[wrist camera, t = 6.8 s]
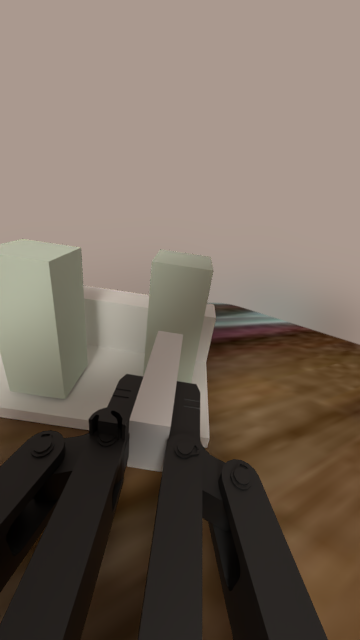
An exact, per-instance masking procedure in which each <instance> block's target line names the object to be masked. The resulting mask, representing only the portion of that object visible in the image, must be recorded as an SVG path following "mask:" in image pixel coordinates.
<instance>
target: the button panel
mask: <svg viewBox="0 0 360 640" xmlns="http://www.w3.org/2000/svg"><path fill="white" fill-rule="evenodd" d="M83 290H84V308H85V326H86V343H87V361H88V365H87V367H86V368H85V370H84V371H83V373H82V375H81V376H80V378H79V379H78V381H77V382H76V384H75V385H74V387H73V388H72V390H71V391H70V393H69V394H68V396H67V397H66V399H59V398H52V397H46V396H39V395H32V394H25V393H19V392H12V391H10V389H9V385H8V381H7V377H6V373H5V369H4V365H3V362H2V358H1V354H0V417H3V418H10V419H16V420H23V421H30V422H37V423H43V424H50V425H57V426H64V427H70V428H77V429H84V430H89V420H88V419H89V418H90V416H91V415H92V414H93V413H94V412H96V411H97V410H99V409H103V408H106V407H107V406H108V404H109V402H110V399H111V397H112V396H113V393H114V391H115V389H116V386H117V384H118V382H119V380H120V379H121V378H122V377H123V376H125V375H126V374H131V375H137V376H143V370H144V357H145V344H146V331H147V318H148V305H149V295H146V294H138V293H132V292H125V291H118V290H112V289H105V288H98V287H91V286H84V285H83ZM215 320H216V314H215V307H214V305H213V304H207V305H206V310H205V315H204V321H203V326H202V331H201V336H200V341H199V346H198V351H197V356H196V361H195V366H194V371H193V376H192V381H191V383H192V384H197V386H198V388H199V390H200V440H201V443H202V446H203V447H205V448H207V446H208V442H209V439H210V437H209V415H208V393H207V371H206V361H207V356H208V352H209V347H210V343H211V338H212V334H213V329H214V325H215Z"/></svg>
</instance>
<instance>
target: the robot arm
mask: <svg viewBox="0 0 360 640" xmlns="http://www.w3.org/2000/svg"><path fill="white" fill-rule="evenodd" d="M182 339H183V334H177V333H170V332H164V331H158V334H157V337H156V340H155V343H154V346H153V349H152V352H151V355H150V358H149V361H148V364H147V367H146V370H145V374H144V376H137V375H131V374H126V375H125V376H123V377H122V378H121V379H120V380H119V382H118V384H117V386H116V389H115V391H114V393H113V396H112V397H111V399H110V402H109V404H108V406H107V407H106V408H103V409H99V410H97V411H96V412H94V413H93V414H92V415H91V416H90V418H89V419H88V420H89V433H87V434H85V435H82V436H77V437H70V438H63V436H62V435H61V434H60V433H58V432H56V431H51V430H50V431H43V432H40V433H38V434H36V435H34V436H32V437H31V438H30V439H28V440H27V441H26V442H25V443H24V444H23V445H22V446H21V447H20V448H19V449H18V450H17V451H16V452H15V453H14V454H13V455H12V456H11V457H10V458H9V459H8V460H7V461H6V462H5V463H4V464H3V465H2V466H0V592H1V590H2V589H3V588H4V586H5V585H6V583H7V582H8V580H9V579H10V577H11V576H12V575H13V573H14V572H15V570H16V569H17V567H18V566H19V564H20V563H21V562H22V560H23V559H24V557H25V556H26V554H27V553H28V551H29V550H30V549H31V547H32V546H33V544H34V543H35V541H36V540H37V538H38V537H39V536H40V534H41V533H42V531H43V530H44V528H45V527H46V528H45V530H44V532H43V535H42V537H41V539H40V541H39V543H38V545H37V547H36V549H35V552H34V554H33V556H32V558H31V560H30V562H29V564H28V566H27V569H26V571H25V573H24V575H23V577H22V579H21V581H20V583H19V586H18V588H17V590H16V592H15V594H14V596H13V598H12V600H11V603H10V605H9V607H8V609H7V611H6V613H5V615H4V617H3V620H2V622H1V624H0V640H80V639H81V635H82V631H83V628H84V624H85V620H86V617H87V613H88V609H89V606H90V602H91V598H92V595H93V591H94V588H95V584H96V580H97V577H98V573H99V569H100V566H101V562H102V558H103V555H104V551H105V547H106V544H107V540H108V536H109V533H110V529H111V525H112V522H113V518H114V514H115V511H116V507H117V503H118V500H119V496H120V492H121V489H122V485H123V480H124V471H125V468H126V464H127V467H134V468H140V469H146V470H152V471H158V472H162V477H161V484H160V490H159V496H158V504H157V511H156V517H155V524H154V531H153V538H152V545H151V551H150V558H149V565H148V572H147V579H146V585H145V592H144V599H143V606H142V613H141V619H140V626H139V633H138V640H202V518H204V519H205V520H207V521H208V523H209V528H210V532H211V537H212V542H213V546H214V551H215V556H216V560H217V565H218V570H219V574H220V579H221V584H222V588H223V593H224V598H225V602H226V607H227V612H228V616H229V621H230V626H231V630H232V635H233V640H328V639H327V637H326V634H325V632H324V630H323V627H322V625H321V622H320V620H319V618H318V615H317V613H316V611H315V608H314V606H313V603H312V601H311V599H310V596H309V594H308V592H307V589H306V587H305V585H304V582H303V580H302V577H301V575H300V573H299V570H298V568H297V566H296V563H295V561H294V559H293V556H292V554H291V551H290V549H289V547H288V544H287V542H286V540H285V537H284V535H283V533H282V530H281V528H280V525H279V523H278V521H277V518H276V516H275V514H274V511H273V509H272V506H271V504H270V502H269V499H268V497H267V495H266V492H265V490H264V488H263V485H262V483H261V480H260V478H259V476H258V474H257V473H256V471H255V469H254V468H252V467H251V466H250V465H249V464H248V463H246V462H244V461H242V460H236V459H233V460H230V461H228V462H227V463H225V462H223V461H221V460H219V459H217V458H215V457H213V456H212V455H210V454H209V453H208V452H207V451H206V450H205V449H204V447H203V446H202V443H201V440H200V390H199V388H198V386H197V384H192V383H186V382H180V381H177V376H178V369H179V362H180V354H181V347H182Z"/></svg>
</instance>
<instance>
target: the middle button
mask: <svg viewBox="0 0 360 640" xmlns="http://www.w3.org/2000/svg"><path fill="white" fill-rule="evenodd" d="M0 354H1V358H2V362H3V365H4V369H5V373H6V377H7V381H8V385H9V389H10V391H12V392H19V393H25V394H32V395H39V396H46V397H52V398H59V399H66V397H67V396H68V394H69V393H70V391H71V390H72V388H73V387H74V385H75V384H76V382H77V381H78V379H79V378H80V376H81V375H82V373H83V371H84V370H85V368H86V367H87V365H88V361H87V343H86V326H85V308H84V290H83V273H82V255H81V248H80V247H73V246H67V245H60V244H53V243H46V242H39V241H32V240H26V239H21V240H17V241H13V242H8V243H4V244H0Z"/></svg>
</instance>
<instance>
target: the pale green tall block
mask: <svg viewBox="0 0 360 640" xmlns="http://www.w3.org/2000/svg"><path fill="white" fill-rule="evenodd" d="M212 275H213V267H212V261H211V257H208V256H201V255H194V254H187V253H180V252H174V251H167V250H160V251H159V252H158V254H157V255H156V257H155V258H154V259H153V261H152V267H151V279H150V293H149V305H148V318H147V331H146V344H145V357H144V370H143V376H144V374H145V370H146V367H147V364H148V361H149V358H150V355H151V352H152V349H153V346H154V343H155V340H156V337H157V334H158V331H164V332H170V333H177V334H183V339H182V347H181V354H180V362H179V369H178V376H177V381H180V382H186V383H191V381H192V376H193V371H194V366H195V361H196V356H197V351H198V346H199V341H200V336H201V331H202V326H203V321H204V315H205V310H206V305H207V299H208V295H209V290H210V285H211V280H212Z"/></svg>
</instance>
